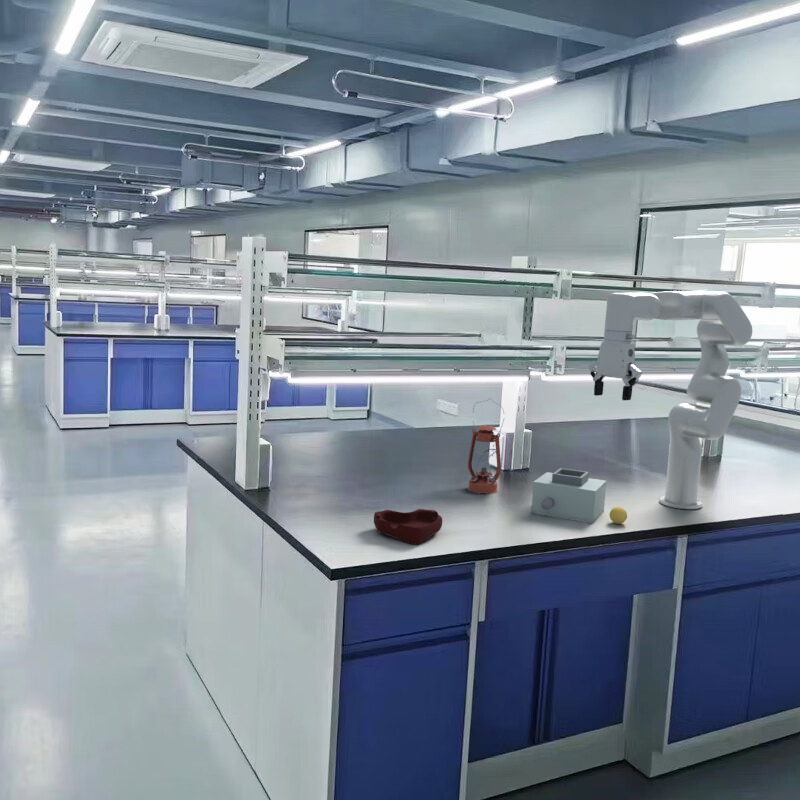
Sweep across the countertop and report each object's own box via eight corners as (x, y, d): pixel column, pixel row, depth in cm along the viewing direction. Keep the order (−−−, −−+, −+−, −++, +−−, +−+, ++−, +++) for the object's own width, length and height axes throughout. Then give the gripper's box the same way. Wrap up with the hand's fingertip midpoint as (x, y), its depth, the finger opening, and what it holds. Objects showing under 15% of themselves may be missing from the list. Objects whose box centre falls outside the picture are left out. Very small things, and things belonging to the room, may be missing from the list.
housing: (544, 501, 240) (547, 464, 238) (603, 511, 232) (607, 472, 230) (528, 515, 225) (530, 475, 223) (590, 526, 217) (594, 484, 215)
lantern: (495, 486, 256) (500, 396, 252) (500, 495, 246) (506, 401, 241) (466, 485, 256) (470, 395, 251) (469, 494, 245) (474, 400, 241)
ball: (610, 519, 224) (612, 503, 223) (627, 522, 221) (629, 506, 221) (607, 524, 219) (608, 507, 219) (624, 527, 217) (626, 510, 216)
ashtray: (382, 548, 193) (383, 529, 192) (370, 527, 209) (371, 509, 208) (451, 545, 197) (452, 526, 196) (434, 525, 213) (435, 508, 212)
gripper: (652, 339, 214) (646, 401, 217) (601, 335, 228) (595, 393, 230) (635, 339, 210) (629, 402, 212) (584, 334, 223) (579, 394, 225)
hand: (612, 397), depth 221 cm, fingers open, 9 cm apart
